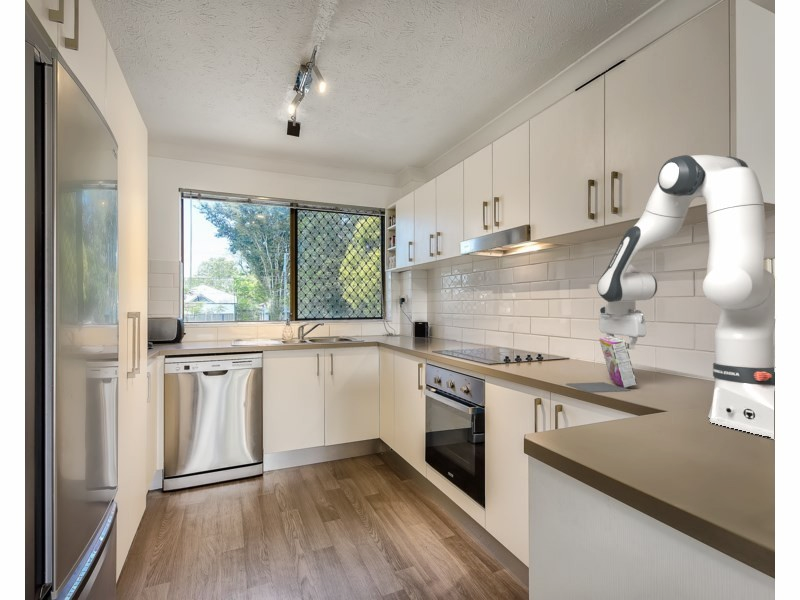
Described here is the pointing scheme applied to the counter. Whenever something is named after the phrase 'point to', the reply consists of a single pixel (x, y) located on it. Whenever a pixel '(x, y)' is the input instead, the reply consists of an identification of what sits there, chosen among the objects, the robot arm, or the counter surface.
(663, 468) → the counter surface
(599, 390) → the mat
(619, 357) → the candy bar box
